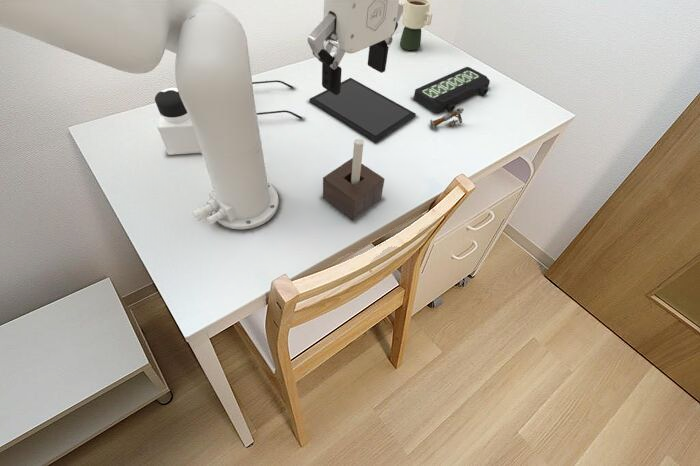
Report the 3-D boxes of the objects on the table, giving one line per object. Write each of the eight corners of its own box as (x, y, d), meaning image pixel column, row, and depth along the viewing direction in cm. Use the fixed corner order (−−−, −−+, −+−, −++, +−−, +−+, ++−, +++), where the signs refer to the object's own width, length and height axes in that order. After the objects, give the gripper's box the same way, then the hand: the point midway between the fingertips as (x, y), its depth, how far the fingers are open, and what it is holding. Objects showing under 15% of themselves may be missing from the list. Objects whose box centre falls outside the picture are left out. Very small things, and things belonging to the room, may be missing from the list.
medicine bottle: (203, 153, 81) (187, 103, 72) (168, 155, 80) (147, 105, 71) (205, 132, 85) (191, 83, 76) (172, 134, 84) (153, 84, 75)
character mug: (430, 50, 116) (441, 3, 106) (417, 57, 112) (426, 10, 102) (402, 37, 120) (409, -9, 110) (388, 44, 116) (394, -3, 106)
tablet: (375, 143, 86) (376, 139, 86) (309, 102, 95) (309, 98, 94) (415, 116, 94) (416, 113, 93) (350, 80, 102) (350, 77, 102)
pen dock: (353, 220, 72) (355, 200, 68) (322, 197, 75) (322, 177, 71) (381, 198, 76) (384, 178, 71) (351, 178, 79) (352, 157, 75)
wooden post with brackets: (466, 122, 92) (464, 108, 88) (435, 137, 93) (432, 123, 89) (463, 118, 93) (461, 104, 89) (433, 132, 94) (429, 119, 90)
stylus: (353, 202, 75) (359, 145, 64) (348, 198, 75) (352, 141, 64) (359, 198, 75) (365, 141, 64) (353, 194, 76) (358, 137, 65)
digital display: (443, 106, 92) (414, 88, 96) (440, 117, 94) (412, 99, 99) (497, 80, 101) (467, 64, 105) (493, 91, 103) (464, 75, 108)
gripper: (334, -37, 38) (329, 112, 51) (436, -63, 46) (409, 71, 60) (286, -58, 41) (293, 88, 54) (390, -79, 49) (374, 52, 63)
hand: (354, 79), depth 57 cm, fingers open, 9 cm apart
